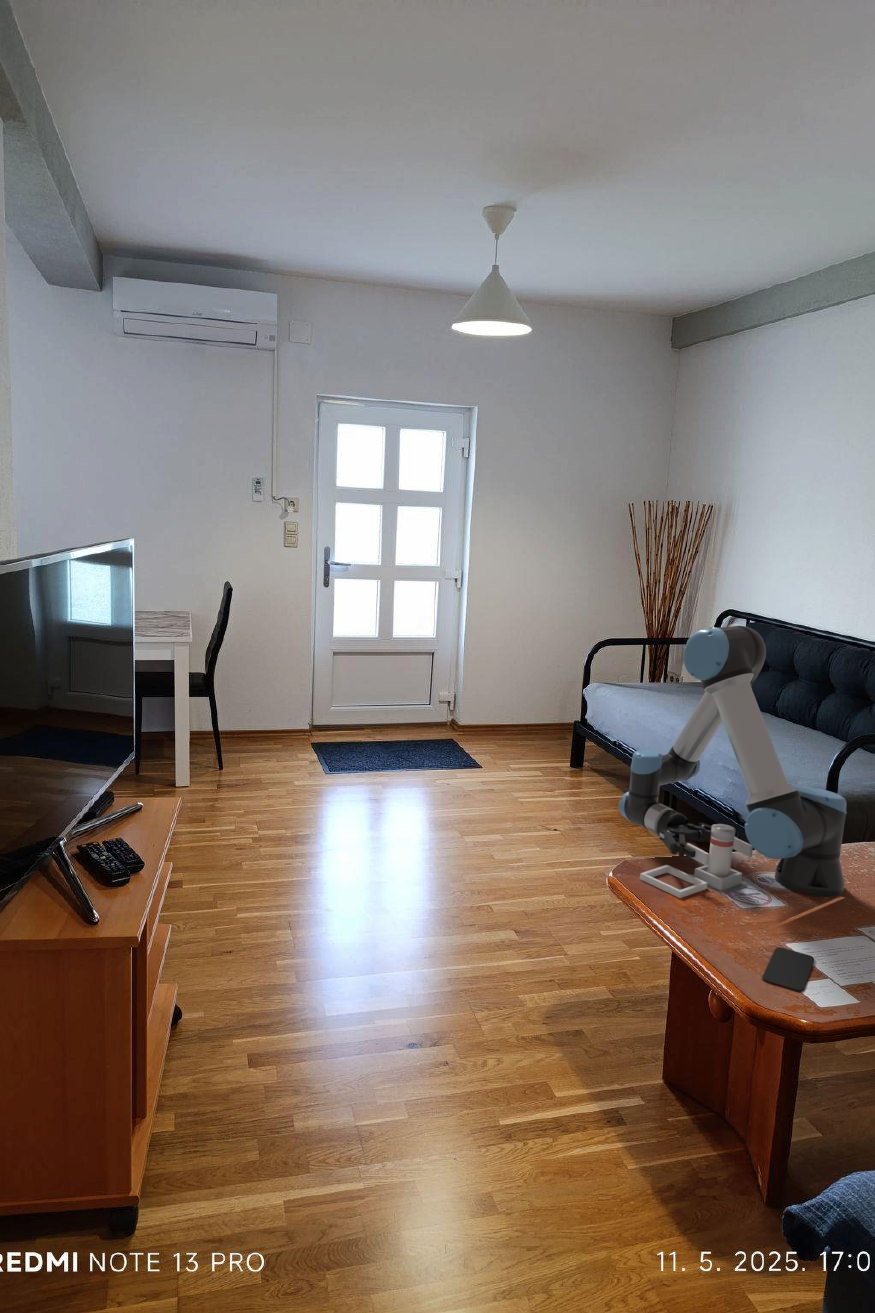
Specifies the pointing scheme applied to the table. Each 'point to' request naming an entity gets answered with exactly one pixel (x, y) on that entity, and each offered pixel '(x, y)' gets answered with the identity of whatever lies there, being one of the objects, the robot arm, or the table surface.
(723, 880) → the box
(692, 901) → the table surface
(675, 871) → the grey rectangular frame
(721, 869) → the cylinder
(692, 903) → the table surface
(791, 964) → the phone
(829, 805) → the robot arm
